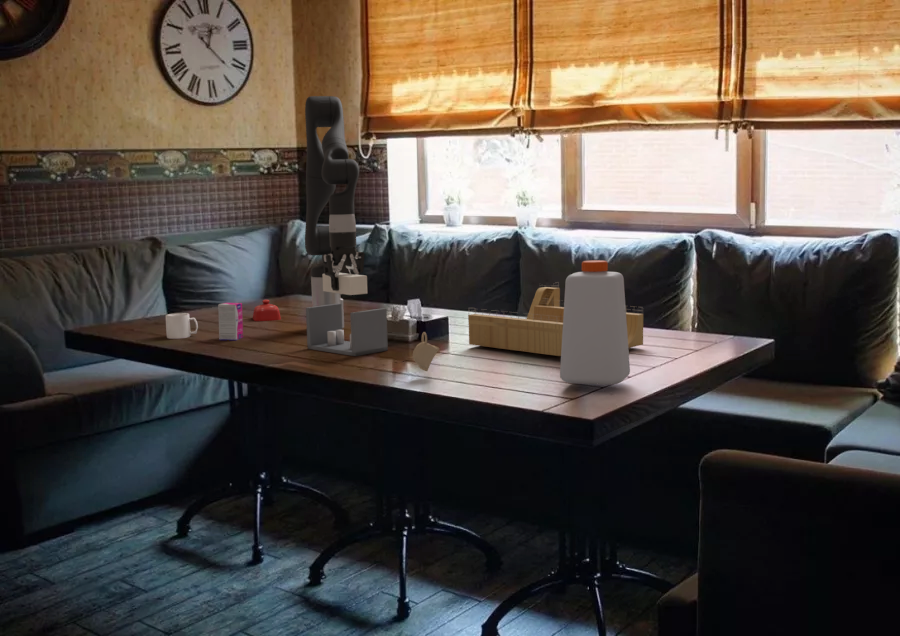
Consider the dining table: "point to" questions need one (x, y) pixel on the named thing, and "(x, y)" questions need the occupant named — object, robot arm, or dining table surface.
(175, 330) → the mug
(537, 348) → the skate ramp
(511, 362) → the dining table surface
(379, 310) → the peg stand
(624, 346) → the plastic bottle
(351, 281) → the cream rectangular block
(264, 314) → the butter dish
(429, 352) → the tan teacup
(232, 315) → the supplement box
